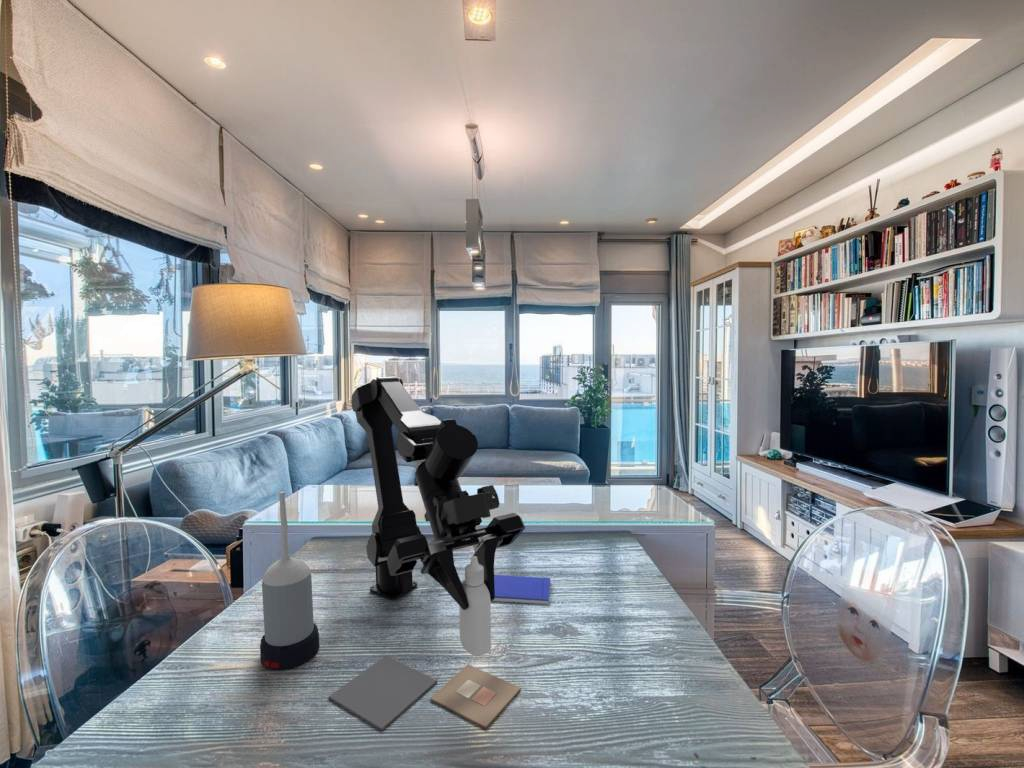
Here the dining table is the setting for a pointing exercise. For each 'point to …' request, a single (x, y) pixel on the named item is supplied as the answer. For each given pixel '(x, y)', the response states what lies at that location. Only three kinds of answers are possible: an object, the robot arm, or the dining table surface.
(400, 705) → the mat
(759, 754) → the dining table surface
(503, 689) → the board
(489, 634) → the eye dropper bottle
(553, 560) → the dining table surface
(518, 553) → the dining table surface
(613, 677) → the dining table surface
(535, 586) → the hard drive
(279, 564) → the humidifier
